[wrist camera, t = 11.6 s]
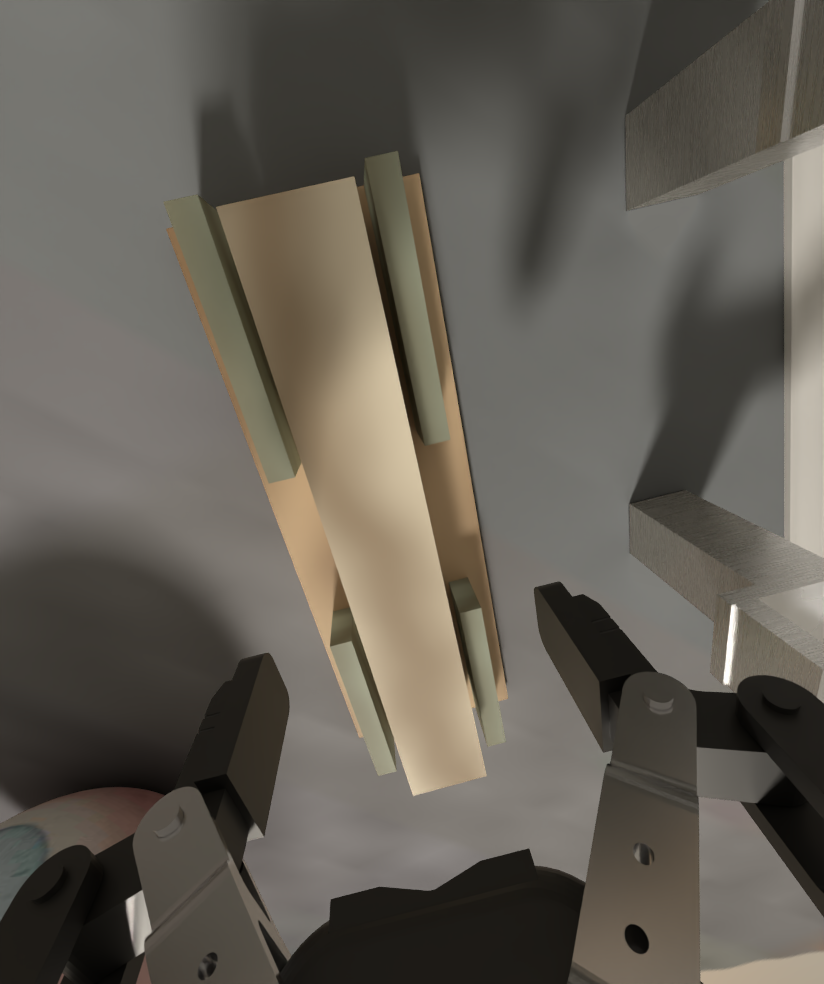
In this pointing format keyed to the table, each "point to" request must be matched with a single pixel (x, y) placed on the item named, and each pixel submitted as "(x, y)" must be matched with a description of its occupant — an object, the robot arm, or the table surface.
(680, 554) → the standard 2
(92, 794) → the eyeball
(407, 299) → the rack
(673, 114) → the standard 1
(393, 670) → the rail
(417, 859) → the table surface
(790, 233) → the baseboard
